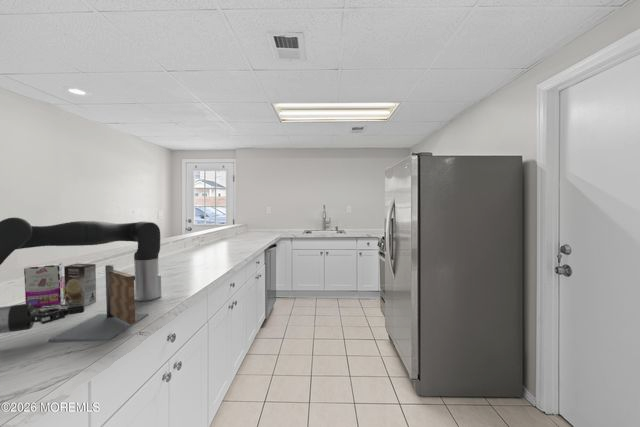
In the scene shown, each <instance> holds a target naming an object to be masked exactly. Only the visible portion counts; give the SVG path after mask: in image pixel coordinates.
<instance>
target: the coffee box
mask: <svg viewBox="0 0 640 427" xmlns="http://www.w3.org/2000/svg"><path fill="white" fill-rule="evenodd" d="M96 267H97V266H96V263H73V264H68V265H66V266H63V269H64V270H63V271H64V272H63V273H64V274H63V275H64V278H65V298H64V305H68V306H77V305H84V307H85V306H88V305H91V304H93V303H96V302H97V274H96V272H97V271H96V270H97V268H96Z"/></svg>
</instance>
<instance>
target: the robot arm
mask: <svg viewBox="0 0 640 427" xmlns="http://www.w3.org/2000/svg"><path fill="white" fill-rule="evenodd" d="M114 242H134V243H137V249H136V251H135V252H134V254H133V261H134V262H133V263H134V264H133V265H134V276H135V280H134V290H135V301H137V302H145V301H146V302H147V301H153V300H156V299H159V298H160V297H162V275H161V274H160V272H159V271H160V268H159V266H160V264H159V254H160V251H161V229H160V226H159V225H158V224H157V223H155V222H152V221H136V222H135V221H134V222H126V223H124V222H123V223H114V222H107V221H95V220H92V221H91V220H80V221H70V222H62V223H57V224H52V225H39V226H38V225H36V226H35V225H31V223H30V222H28V220H26V219H24V218H20V217H8V218H5V219H2V220H0V266H1V265H2V264H3V263H4V262H5V260H6V259H7V258H8V257H9V256H10V255H11V254H12V253H13V252H14V251H15V250H22V249H29V248H37V247H38V248H40V247H52V246H53V247H72V246H73V247H74V246H75V247H76V246H77V247H78V246H81V247H83V246H97V245H105V244H111V243H114ZM84 311H85V306H84V305H77V306H73V305H65V303H64V304H63V303H61V304H51V305H50V306H43V307H38V308H34V306H33V304H31V303H28V304H26V303H22V304H14V305H13V304H12V305H5V306H0V335H1V334H7V333H13V332H21V331H25V330H26V331H27V330H30V329H32V328H33V327H34V323H40V324H41V325H44V324H47V323H51V322H55V321H57V320H61V319H64V318H66V317H69V315H76V314H82V313H84Z"/></svg>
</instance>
